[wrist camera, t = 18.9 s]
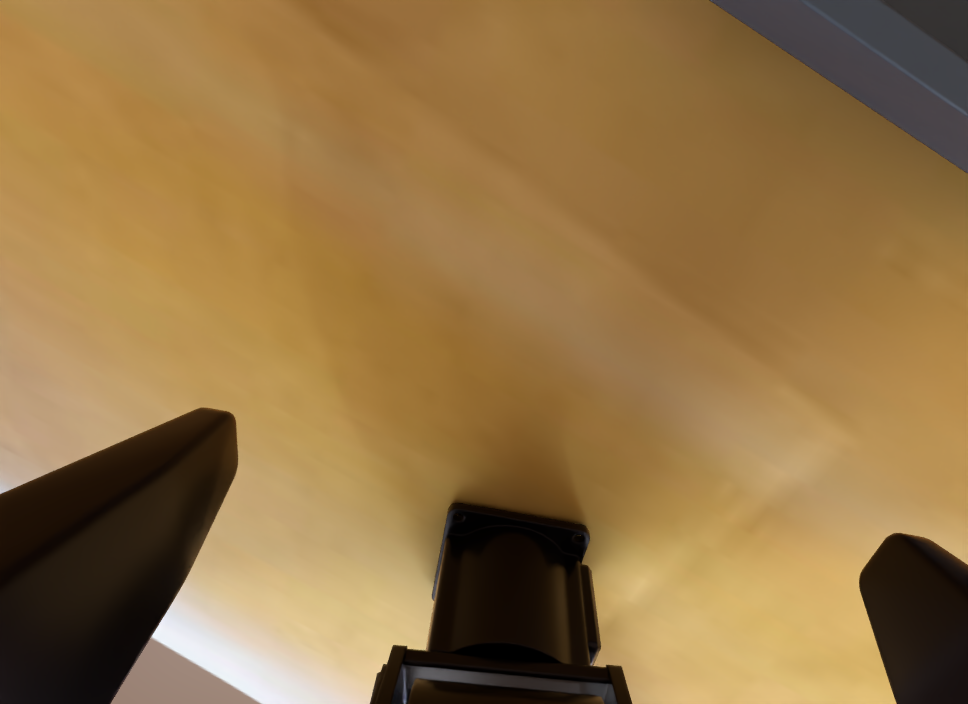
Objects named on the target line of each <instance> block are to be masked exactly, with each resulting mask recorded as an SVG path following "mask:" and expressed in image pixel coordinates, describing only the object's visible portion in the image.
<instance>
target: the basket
mask: <svg viewBox="0 0 968 704" xmlns="http://www.w3.org/2000/svg"><path fill="white" fill-rule="evenodd" d="M710 1H711V2H713V3H714V4H716V5H717V6H719V7H720V8H722V9H723V10H725V11H726V12H728V13H729V14H731V15H732V16H734V17H735V18H737V19H738V20H740V21H741V22H743V23H744V24H746V25H747V26H749V27H750V28H752V29H753V30H755V31H756V32H758V33H759V34H761V35H762V36H764V37H765V38H767V39H768V40H770V41H771V42H773V43H774V44H776V45H777V46H779V47H780V48H782V49H783V50H785V51H786V52H787V53H789V54H790V55H792V56H793V57H795V58H796V59H798V60H799V61H801V62H802V63H804V64H805V65H807V66H808V67H810V68H811V69H813V70H814V71H816V72H817V73H819V74H820V75H822V76H823V77H825V78H826V79H828V80H829V81H831V82H832V83H834V84H835V85H837V86H838V87H840V88H841V89H843V90H844V91H846V92H847V93H849V94H850V95H852V96H853V97H855V98H856V99H858V100H859V101H861V102H862V103H863V104H865V105H866V106H868V107H869V108H871V109H872V110H874V111H875V112H877V113H878V114H880V115H881V116H883V117H884V118H886V119H887V120H889V121H890V122H892V123H893V124H895V125H896V126H898V127H899V128H901V129H902V130H904V131H905V132H907V133H908V134H910V135H911V136H913V137H914V138H916V139H917V140H919V141H920V142H922V143H923V144H925V145H926V146H928V147H929V148H931V149H932V150H934V151H935V152H937V153H938V154H940V155H941V156H942V157H944V158H945V159H947V160H948V161H950V162H951V163H953V164H954V165H956V166H957V167H959V168H960V169H962V170H963V171H965V172H966V173H968V0H710Z"/></svg>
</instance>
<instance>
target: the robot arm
mask: <svg viewBox="0 0 968 704" xmlns="http://www.w3.org/2000/svg"><path fill="white" fill-rule="evenodd" d="M237 466H238V448H237V430H236V420H235V417H234V415H233V414H231V413H230V412H227V411H222V410H216V409H211V408H199V409H196V410H194V411H191V412H189V413H187V414H184V415H182V416H180V417H177V418H175V419H173V420H170V421H168V422H166V423H164V424H161V425H159V426H157V427H154V428H152V429H150V430H147V431H145V432H143V433H140V434H138V435H136V436H134V437H131V438H129V439H127V440H124V441H122V442H120V443H117V444H115V445H113V446H110V447H108V448H106V449H104V450H101V451H99V452H97V453H94V454H92V455H90V456H87V457H85V458H83V459H80V460H78V461H76V462H74V463H71V464H69V465H67V466H64V467H62V468H60V469H57V470H55V471H53V472H50V473H48V474H46V475H44V476H41V477H39V478H37V479H34V480H32V481H30V482H27V483H25V484H23V485H20V486H18V487H16V488H14V489H11V490H9V491H7V492H4V493H2V494H0V704H110V703H111V702H112V700H113V698H114V697H115V695H116V694H117V692H118V690H119V689H120V687H121V685H122V684H123V682H124V680H125V679H126V677H127V675H128V674H129V672H130V670H131V669H132V667H133V666H134V664H135V663H136V661H137V659H138V657H139V656H140V654H141V653H142V651H143V649H144V648H145V646H146V645H147V643H148V641H149V640H150V638H151V636H152V635H153V633H154V631H155V630H156V628H157V627H158V625H159V623H160V622H161V620H162V618H163V617H164V615H165V614H166V612H167V610H168V609H169V607H170V605H171V604H172V602H173V600H174V599H175V597H176V595H177V594H178V592H179V590H180V588H181V587H182V585H183V583H184V582H185V580H186V578H187V576H188V574H189V572H190V570H191V568H192V566H193V564H194V562H195V560H196V557H197V555H198V553H199V551H200V549H201V547H202V545H203V543H204V541H205V538H206V536H207V534H208V532H209V530H210V528H211V526H212V524H213V522H214V519H215V517H216V515H217V513H218V511H219V509H220V507H221V505H222V503H223V500H224V498H225V496H226V494H227V492H228V490H229V488H230V486H231V484H232V481H233V479H234V477H235V474H236V471H237ZM456 514H462V515H456ZM576 535H581V536H576ZM589 541H590V535H589V530H588V528H587V527H586V526H584V525H581V524H576V523H570V522H564V521H559V520H553V519H547V518H542V517H536V516H530V515H525V514H519V513H514V512H508V511H502V510H497V509H491V508H485V507H480V506H474V505H468V504H463V503H455V504H452V505H451V506H450V507H449V509H448V514H447V519H446V524H445V529H444V535H443V540H442V545H441V550H440V556H439V561H438V566H437V571H436V576H435V582H434V587H433V592H432V599H433V601H434V605H433V611H432V617H431V623H430V629H429V635H428V641H427V647H426V651H425V650H414V649H407V646H399V645H393V647H392V650H391V653H390V656H389V660H388V663H387V664H383V667H382V670H381V672H379V673H377V677H376V681H375V685H374V689H373V693H372V697H371V701H370V704H632V701H631V698H630V694H629V691H628V687H627V684H626V680H625V677H624V673H623V670H622V667H621V666H615V665H606V667H597V666H593V665H594V663H595V660H596V658H597V656H598V654H599V651H600V649H601V643H600V635H599V627H598V619H597V611H596V603H595V595H594V587H593V579H592V571H591V570H590V568H589V567H588V566H587V565H582V564H581V563H582V560H583V557H584V555H585V552H586V549H587V546H588V544H589ZM859 587H860V592H861V595H862V598H863V601H864V604H865V608H866V611H867V614H868V617H869V620H870V623H871V626H872V629H873V633H874V636H875V639H876V642H877V645H878V648H879V651H880V654H881V658H882V661H883V664H884V667H885V670H886V673H887V676H888V679H889V683H890V686H891V688H892V691H893V694H894V697H895V700H896V703H897V704H968V565H967V564H965V563H964V562H962V561H961V560H960V559H958V558H957V557H955V556H954V555H952V554H951V553H949V552H948V551H946V550H945V549H943V548H942V547H940V546H939V545H937V544H936V543H934V542H933V541H931V540H929V539H927V538H924V537H919V536H914V535H908V534H903V533H894V534H892V535H890V536H888V537H887V538H886V539H885V540H884V541H883V543H882V544H881V545H880V547H879V548H878V549H877V551H876V552H875V553H874V555H873V556H872V557H871V559H870V560H869V562H868V563H867V564H866V566H865V567H864V568H863V570H862V572H861V574H860V578H859Z"/></svg>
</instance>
